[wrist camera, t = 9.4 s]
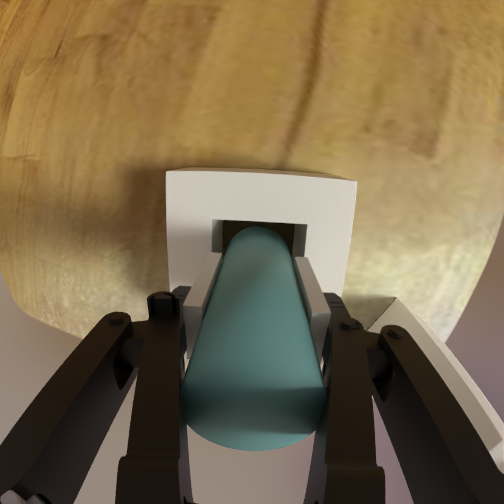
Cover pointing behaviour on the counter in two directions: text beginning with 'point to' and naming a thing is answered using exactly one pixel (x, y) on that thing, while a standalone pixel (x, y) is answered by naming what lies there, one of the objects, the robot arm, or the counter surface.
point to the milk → (450, 376)
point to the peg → (254, 352)
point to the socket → (259, 216)
